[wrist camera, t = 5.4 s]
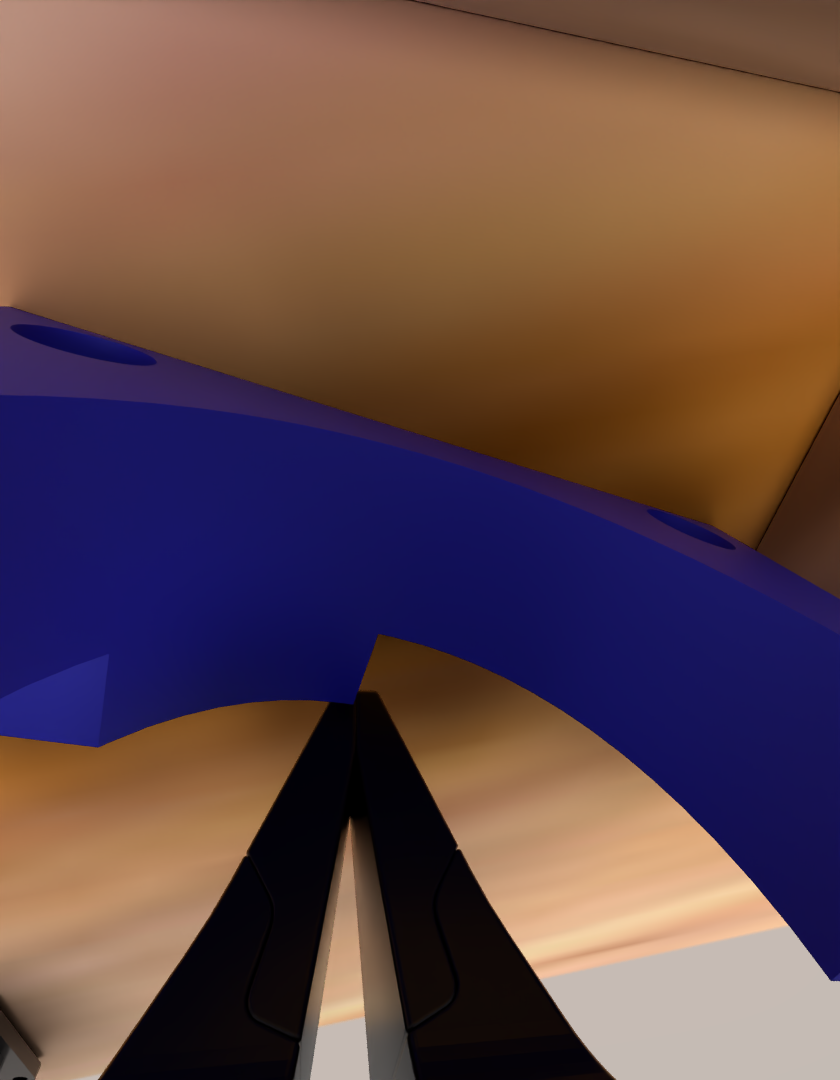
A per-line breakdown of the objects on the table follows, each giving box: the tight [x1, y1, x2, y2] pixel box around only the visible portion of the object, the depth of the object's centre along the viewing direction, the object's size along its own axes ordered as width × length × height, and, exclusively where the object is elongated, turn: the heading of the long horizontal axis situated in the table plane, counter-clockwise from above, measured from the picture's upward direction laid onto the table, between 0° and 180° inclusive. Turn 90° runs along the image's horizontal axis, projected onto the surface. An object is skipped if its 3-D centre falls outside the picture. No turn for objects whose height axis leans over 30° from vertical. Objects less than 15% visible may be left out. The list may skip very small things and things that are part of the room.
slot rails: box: [416, 0, 840, 599], centre depth 6 cm, size 8×19×2 cm, turn 83°
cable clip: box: [0, 307, 840, 981], centre depth 6 cm, size 12×4×6 cm, turn 71°
